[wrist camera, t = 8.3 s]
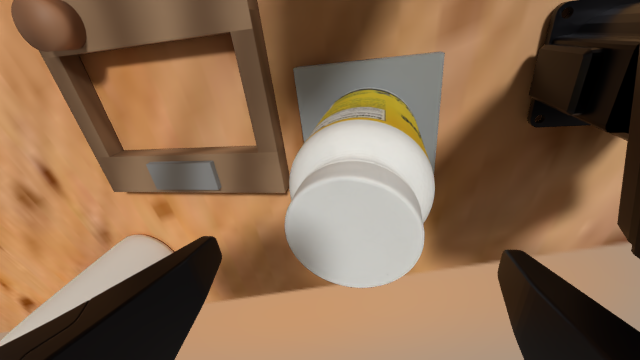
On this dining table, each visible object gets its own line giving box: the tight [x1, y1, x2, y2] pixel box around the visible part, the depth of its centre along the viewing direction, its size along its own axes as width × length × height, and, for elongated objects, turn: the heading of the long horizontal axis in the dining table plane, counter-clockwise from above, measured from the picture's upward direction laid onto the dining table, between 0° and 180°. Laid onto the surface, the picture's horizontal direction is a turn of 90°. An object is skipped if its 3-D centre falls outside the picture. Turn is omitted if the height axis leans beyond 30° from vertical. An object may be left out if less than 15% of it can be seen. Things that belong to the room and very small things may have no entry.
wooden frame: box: [11, 0, 290, 193], centre depth 20 cm, size 17×15×4 cm
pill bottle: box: [285, 88, 435, 288], centre depth 14 cm, size 6×6×11 cm
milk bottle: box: [0, 234, 174, 346], centre depth 23 cm, size 8×8×20 cm
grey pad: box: [293, 52, 445, 175], centre depth 19 cm, size 9×9×1 cm
